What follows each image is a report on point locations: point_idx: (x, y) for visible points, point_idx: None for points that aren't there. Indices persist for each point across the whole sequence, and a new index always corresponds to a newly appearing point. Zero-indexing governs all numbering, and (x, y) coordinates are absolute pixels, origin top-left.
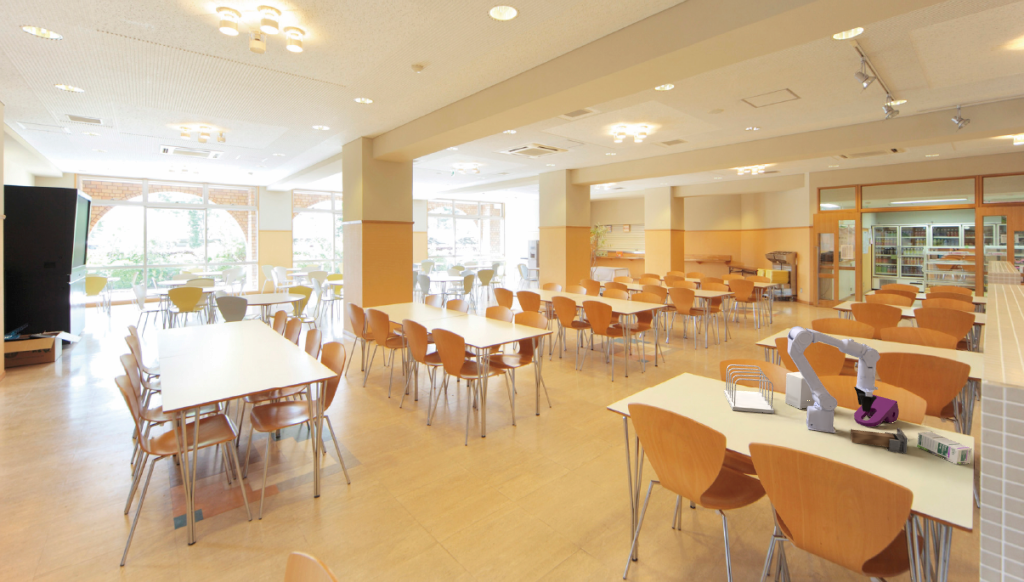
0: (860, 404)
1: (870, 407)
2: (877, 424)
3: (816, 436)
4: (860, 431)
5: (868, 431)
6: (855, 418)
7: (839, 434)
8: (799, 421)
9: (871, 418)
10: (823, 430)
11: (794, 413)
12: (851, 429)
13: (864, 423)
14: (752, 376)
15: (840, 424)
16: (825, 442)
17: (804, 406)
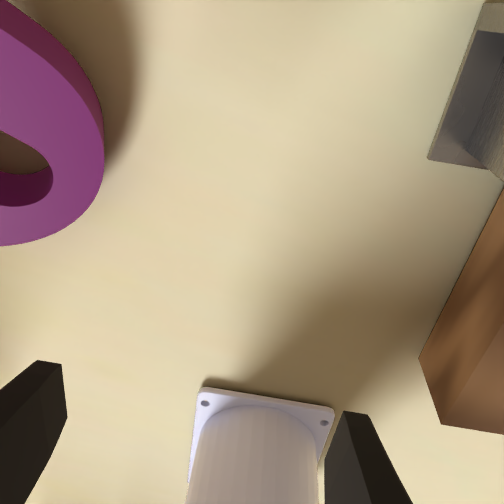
0: (63, 413)
1: (402, 492)
2: (78, 70)
3: None
4: (496, 385)
5: (501, 332)
6: (29, 241)
7: (343, 389)
8: (180, 495)
9: (16, 128)
10: (319, 457)
11: (55, 483)
12: (444, 421)
13: (98, 188)
14: None
15: (139, 328)
16: (483, 480)
17: None
